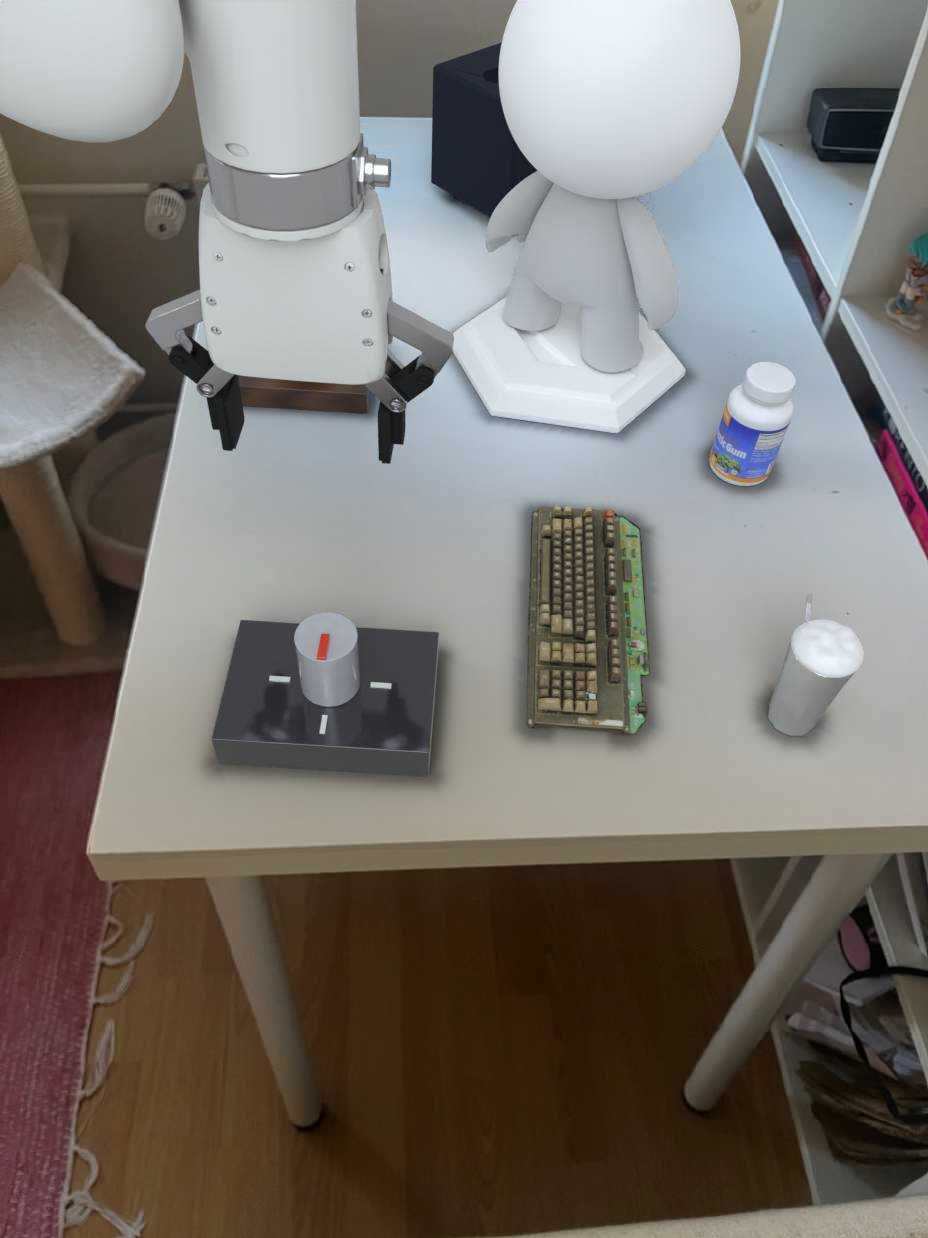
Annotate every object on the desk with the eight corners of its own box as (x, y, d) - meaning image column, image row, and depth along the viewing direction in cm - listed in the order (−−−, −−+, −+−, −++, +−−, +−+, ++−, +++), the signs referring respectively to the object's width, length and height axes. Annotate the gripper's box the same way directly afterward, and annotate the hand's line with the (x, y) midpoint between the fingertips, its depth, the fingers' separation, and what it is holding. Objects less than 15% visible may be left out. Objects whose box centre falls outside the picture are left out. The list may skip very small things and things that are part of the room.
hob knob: (305, 656, 69) (299, 606, 65) (363, 661, 69) (361, 611, 65) (295, 704, 66) (288, 655, 62) (356, 709, 66) (353, 660, 62)
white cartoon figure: (715, 349, 99) (831, -63, 72) (580, 466, 87) (659, 24, 60) (551, 272, 106) (601, -127, 79) (408, 369, 94) (409, -61, 68)
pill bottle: (696, 455, 88) (723, 363, 81) (746, 440, 90) (777, 349, 83) (731, 495, 85) (762, 403, 78) (782, 478, 87) (818, 387, 80)
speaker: (557, 141, 126) (572, 9, 114) (635, 181, 120) (659, 46, 108) (428, 195, 116) (431, 56, 104) (507, 241, 110) (518, 99, 98)
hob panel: (217, 764, 66) (210, 737, 64) (245, 645, 73) (240, 617, 70) (428, 777, 67) (429, 751, 64) (438, 657, 73) (439, 630, 70)
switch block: (234, 405, 90) (228, 368, 87) (253, 339, 96) (248, 302, 93) (367, 413, 90) (366, 377, 87) (378, 347, 97) (377, 311, 93)
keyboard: (531, 510, 83) (534, 492, 82) (639, 519, 83) (644, 501, 82) (523, 729, 69) (526, 712, 68) (653, 740, 69) (659, 723, 68)
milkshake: (793, 675, 73) (839, 585, 66) (835, 734, 70) (888, 646, 62) (739, 692, 72) (780, 602, 64) (780, 752, 69) (827, 665, 61)
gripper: (465, 152, 52) (453, 415, 65) (133, 126, 52) (188, 394, 65) (454, 227, 47) (443, 495, 60) (88, 199, 47) (157, 471, 60)
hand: (310, 442), depth 63 cm, fingers open, 9 cm apart
